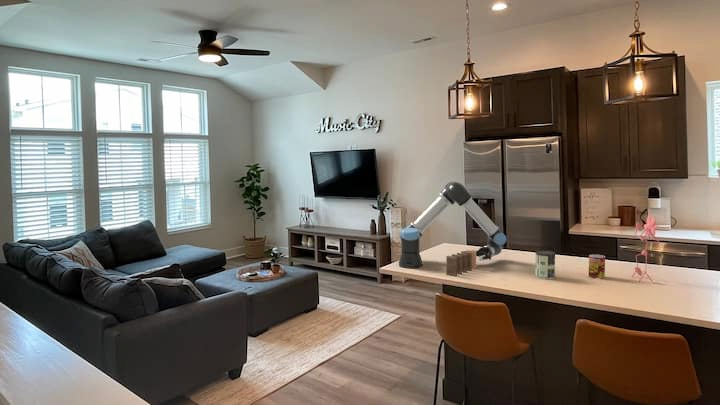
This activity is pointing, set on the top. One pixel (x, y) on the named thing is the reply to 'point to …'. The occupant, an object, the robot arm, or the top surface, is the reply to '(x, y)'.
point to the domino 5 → (473, 258)
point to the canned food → (596, 266)
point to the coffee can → (545, 265)
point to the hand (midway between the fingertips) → (469, 257)
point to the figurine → (650, 230)
